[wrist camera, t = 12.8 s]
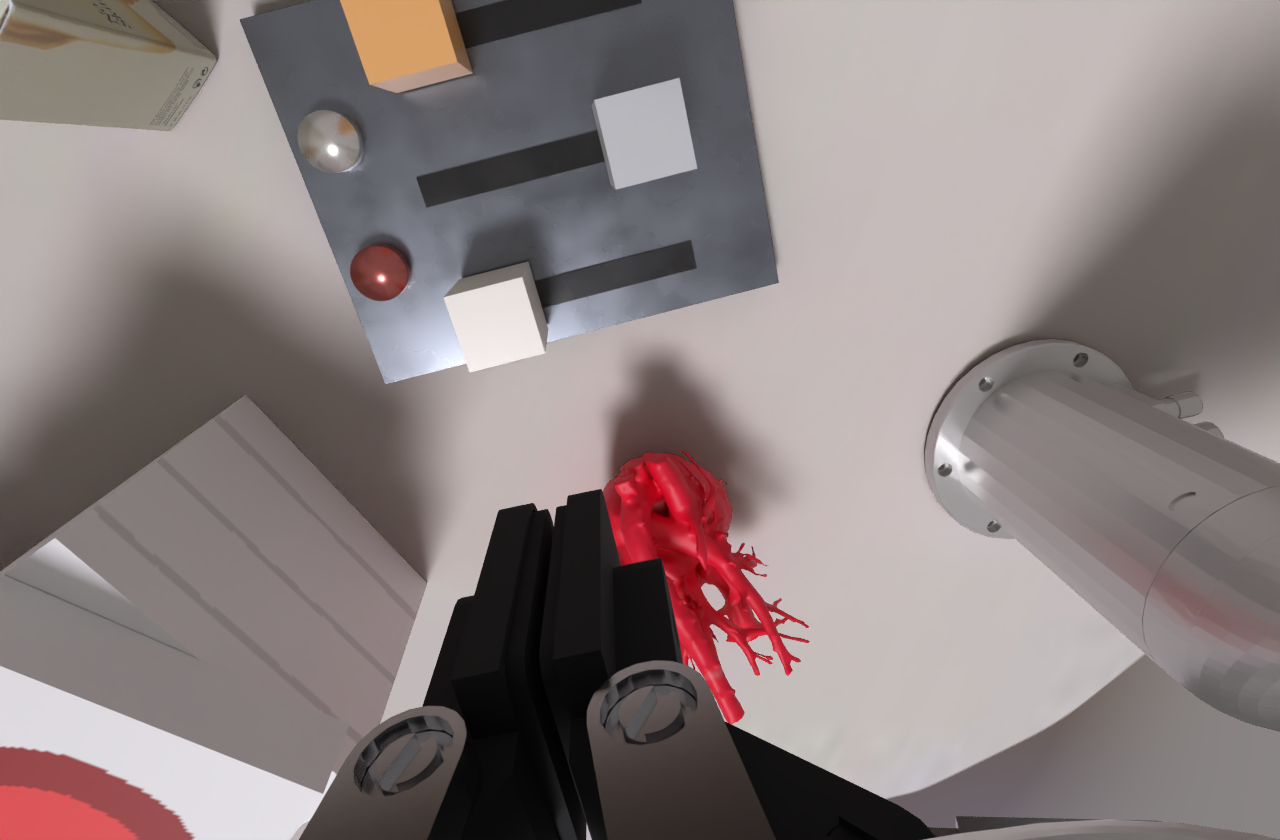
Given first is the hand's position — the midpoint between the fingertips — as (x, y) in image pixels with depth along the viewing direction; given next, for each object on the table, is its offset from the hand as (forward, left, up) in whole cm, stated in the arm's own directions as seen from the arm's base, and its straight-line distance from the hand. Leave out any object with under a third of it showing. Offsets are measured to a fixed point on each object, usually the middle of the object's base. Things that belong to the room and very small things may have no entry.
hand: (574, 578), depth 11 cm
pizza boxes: (+28, +13, -28) cm, 41 cm away
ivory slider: (+4, 0, -26) cm, 26 cm away
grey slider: (-5, -6, -26) cm, 27 cm away
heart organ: (-2, +14, -28) cm, 31 cm away
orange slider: (+3, -12, -25) cm, 28 cm away
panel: (0, -6, -27) cm, 28 cm away
